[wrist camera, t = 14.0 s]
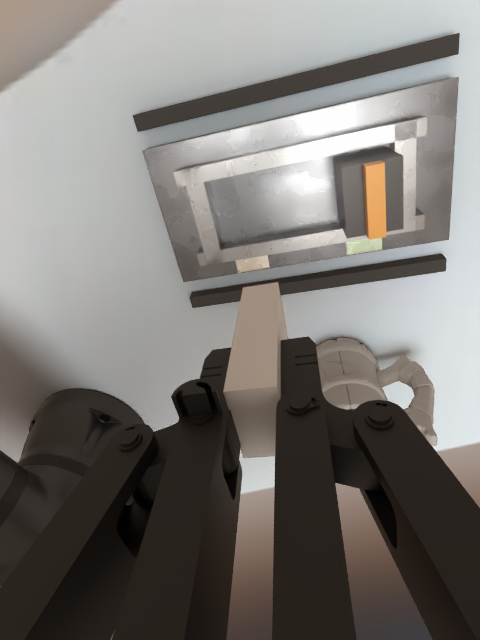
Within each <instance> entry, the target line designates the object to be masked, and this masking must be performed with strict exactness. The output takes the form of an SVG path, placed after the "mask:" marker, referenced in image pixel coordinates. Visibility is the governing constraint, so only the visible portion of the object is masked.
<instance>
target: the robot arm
mask: <svg viewBox="0 0 480 640" xmlns="http://www.w3.org/2000/svg"><path fill="white" fill-rule="evenodd" d="M202 369H203V370H202V372H201V376H200V377H201V378H200V379H195V380H191V381H188V382H186V383H184V384H182V385H181V386H179V387H178V388H177V389H176V390H175V391H174V393H173V394H172V396H171V398H172V400H173V403H174V405H175V408H176V410H177V413H178V415H179V421H178V423H176V424H174V425H172V426H169V427H167V428H164V429H161V430H158V431H155V432H153V430H152V429H151V428H150V426H149V425H146V424H144V423H143V421H142V420H141V419H140V417H139V416H138V415H137V414H136V413H135V412H134V411H133V410H132V409H131V408H129V407H128V406H127V405H125V404H124V403H122V402H121V401H119V400H117V399H115V398H113V397H111V396H108V395H106V394H103V393H100V392H96V391H91V390H84V389H71V390H65V391H61V392H58V393H55V394H53V395H52V396H50V397H49V398H47V399H46V400H45V401H44V403H43V404H42V405H41V406H40V408H39V409H38V410H37V412H36V413H35V415H34V416H33V418H32V421H31V424H30V428H29V434H28V437H27V439H26V442H25V445H24V448H23V451H22V455H21V458H20V460H19V462H18V463H16V462H15V461H14V460H13V459H11V458H10V457H8V456H7V455H6V454H5V453H3V452H2V451H1V450H0V640H110V639H111V636H112V634H113V633H114V635H113V639H112V640H226V638H227V628H228V617H229V607H230V606H229V605H230V595H231V586H232V575H233V565H234V554H235V544H236V533H237V522H238V512H239V502H240V491H241V481H242V468H241V465H240V461H239V455H240V448H241V451H242V454H243V458H253V457H266V456H275V502H274V503H275V505H274V564H273V565H274V566H273V567H274V568H273V627H272V640H357V639H356V632H355V625H354V617H353V611H352V603H351V596H350V588H349V581H348V574H347V566H346V559H345V552H344V544H343V537H342V530H341V522H340V516H339V508H338V501H337V494H336V487H335V483H339V484H343V485H347V486H352V487H356V488H359V489H360V491H361V493H362V495H363V497H364V500H365V502H366V504H367V505H368V508H369V510H370V511H371V514H372V516H373V518H374V520H375V522H376V524H377V526H378V528H379V530H380V532H381V534H382V537H383V538H384V541H385V543H386V545H387V547H388V549H389V551H390V553H391V555H392V557H393V559H394V561H395V563H396V565H397V567H398V569H399V571H400V573H401V576H402V578H403V580H404V582H405V584H406V586H407V588H408V590H409V592H410V594H411V596H412V598H413V600H414V602H415V604H416V606H417V608H418V610H419V612H420V615H421V617H422V619H423V621H424V623H425V624H426V627H427V629H428V631H429V633H430V635H431V637H432V639H433V640H480V508H479V507H478V505H477V504H476V503H475V502H474V500H473V499H472V498H471V496H470V495H469V494H468V492H467V491H466V490H465V489H464V487H463V486H462V485H461V484H460V482H459V481H458V479H457V478H456V477H455V476H454V474H453V473H452V472H451V470H450V469H449V468H448V467H447V465H446V464H445V463H444V461H443V460H442V459H441V457H440V456H439V455H438V454H437V452H436V451H435V450H434V448H433V447H432V446H431V444H430V443H429V442H428V440H427V439H426V438H425V437H424V435H423V434H422V433H421V431H420V430H419V429H418V427H417V426H416V425H415V424H414V422H413V421H412V420H411V418H410V417H409V416H408V415H407V413H406V412H405V411H404V410H403V409H402V408H401V407H400V406H398V405H397V404H394V403H392V402H390V401H384V400H371V401H367V402H365V403H362V404H360V405H359V406H358V407H357V408H356V409H355V410H354V411H353V410H347V409H342V408H338V407H336V406H334V405H332V404H331V403H329V402H328V401H327V400H326V399H325V397H324V395H323V392H322V386H321V379H320V372H319V365H318V358H317V351H316V344H315V343H314V342H313V341H312V340H311V339H310V338H309V337H302V338H294V339H288V334H287V329H286V323H285V318H284V312H283V307H282V301H281V296H280V290H279V285H278V282H275V283H269V284H262V285H256V286H250V287H243V290H242V295H241V300H240V306H239V311H238V316H237V322H236V327H235V332H234V338H233V343H232V348H224V349H216V350H212V351H211V353H210V354H209V355H208V356H207V357H206V359H205V361H204V365H203V368H202ZM114 631H115V632H114Z"/></svg>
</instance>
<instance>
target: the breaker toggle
mask: <svg viewBox="0 0 480 640" xmlns="http://www.w3.org/2000/svg"><path fill="white" fill-rule="evenodd" d="M333 164H334V176H335V188H336V199H337V211H338V220H339V222H340V224H341V227H342V229H343V231H344V233H345V236H346V238H353V237H359V236H365V235H366V236H367V237H368V239H369V240H371V239H377V238H383V237H386V232H389V231H394V230H400V229H404V206H403V155H401V154H399V153H397V152H396V151H394V150H392V149H390V148H388V147H386V146H384V147H379V148H375V149H370V150H365V151H360V152H355V153H351V154H346V155H341V156H336V157H333Z"/></svg>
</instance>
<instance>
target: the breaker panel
mask: <svg viewBox="0 0 480 640" xmlns="http://www.w3.org/2000/svg"><path fill="white" fill-rule="evenodd" d="M458 80H459V77H455V78H448V79H443V80H439V81H435V82H431V83H426V84H422V85H418V86H413V87H409V88H405V89H400V90H396V91H392V92H388V93H383V94H379V95H375V96H370V97H366V98H362V99H358V100H353V101H349V102H345V103H340V104H336V105H332V106H328V107H323V108H319V109H315V110H310V111H306V112H302V113H297V114H293V115H289V116H285V117H280V118H276V119H272V120H267V121H263V122H259V123H255V124H250V125H246V126H242V127H237V128H233V129H229V130H224V131H220V132H216V133H212V134H207V135H203V136H199V137H194V138H190V139H186V140H182V141H177V142H173V143H169V144H164V145H160V146H156V147H152V148H148V149H145V150H143V154H144V157H145V161H146V164H147V167H148V170H149V173H150V177H151V180H152V183H153V186H154V189H155V192H156V196H157V199H158V202H159V205H160V208H161V212H162V215H163V218H164V221H165V224H166V228H167V231H168V234H169V237H170V240H171V244H172V247H173V250H174V253H175V256H176V259H177V263H178V266H179V269H180V272H181V275H182V279H183V282H186V281H193V280H199V279H205V278H211V277H218V276H224V275H230V274H236V273H243V272H249V271H255V270H261V269H268V268H274V267H280V266H286V265H293V264H299V263H305V262H311V261H318V260H324V259H330V258H336V257H343V256H349V255H355V254H361V253H368V252H374V251H380V250H386V249H393V248H399V247H405V246H411V245H418V244H424V243H430V242H436V241H443V240H449V230H450V213H451V196H452V180H453V163H454V146H455V130H456V113H457V96H458ZM384 146H386V147H388V148H390V149H392V150H394V151H396V152H397V153H399V154H401V155H403V206H404V229H400V230H394V231H389V232H386V237H383V238H377V239H371V240H369V239H368V237H367V236H366V235H365V236H359V237H353V238H346V236H345V233H344V231H343V229H342V227H341V224H340V222H339V220H338V211H337V199H336V188H335V176H334V164H333V157H336V156H341V155H346V154H351V153H355V152H360V151H365V150H370V149H375V148H379V147H384Z"/></svg>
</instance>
